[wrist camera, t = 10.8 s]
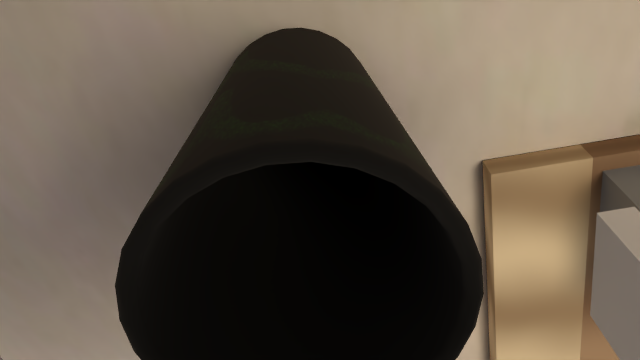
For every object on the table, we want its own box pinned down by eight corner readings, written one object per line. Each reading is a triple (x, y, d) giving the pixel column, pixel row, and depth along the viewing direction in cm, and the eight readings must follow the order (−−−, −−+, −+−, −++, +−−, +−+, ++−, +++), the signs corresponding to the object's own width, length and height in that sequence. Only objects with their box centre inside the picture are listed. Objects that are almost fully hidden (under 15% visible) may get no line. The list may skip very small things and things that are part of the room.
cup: (419, 18, 22) (539, 178, 11) (372, 197, 25) (429, 445, 15) (206, -20, 21) (117, 115, 10) (189, 171, 24) (110, 417, 14)
